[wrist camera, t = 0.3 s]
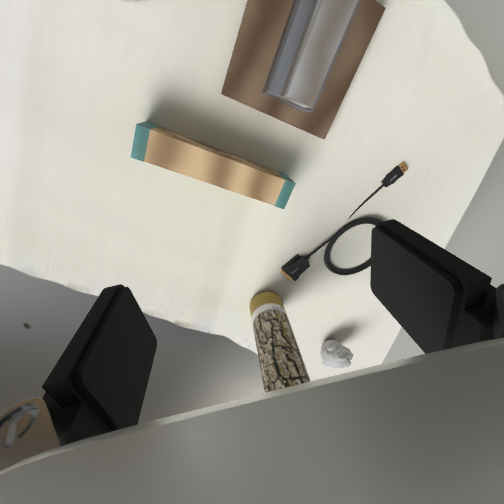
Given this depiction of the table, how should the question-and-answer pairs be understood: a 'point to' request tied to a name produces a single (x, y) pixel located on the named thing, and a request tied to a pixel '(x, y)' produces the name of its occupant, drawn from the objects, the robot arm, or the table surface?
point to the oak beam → (210, 165)
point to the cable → (301, 263)
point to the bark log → (276, 344)
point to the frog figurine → (335, 354)
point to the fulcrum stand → (300, 57)
